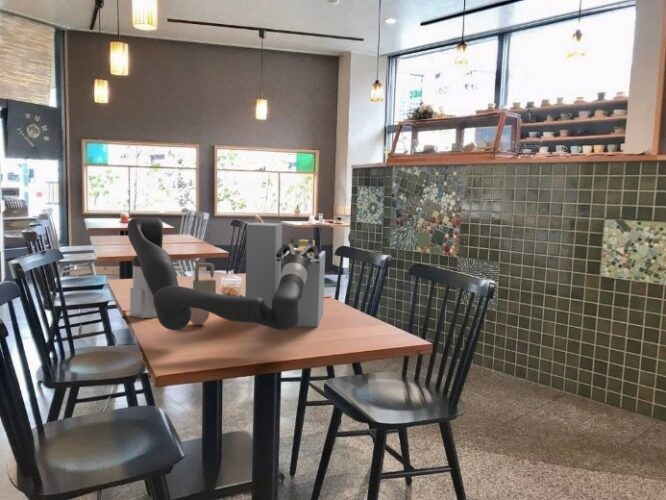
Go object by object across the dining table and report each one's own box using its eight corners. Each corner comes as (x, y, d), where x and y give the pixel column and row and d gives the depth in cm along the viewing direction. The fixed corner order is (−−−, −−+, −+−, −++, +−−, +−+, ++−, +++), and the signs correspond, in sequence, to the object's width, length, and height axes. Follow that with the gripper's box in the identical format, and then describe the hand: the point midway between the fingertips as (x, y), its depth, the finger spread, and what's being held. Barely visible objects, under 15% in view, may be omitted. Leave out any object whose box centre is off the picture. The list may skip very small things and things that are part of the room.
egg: (187, 328, 171) (188, 299, 170) (187, 322, 178) (187, 295, 177) (209, 327, 173) (209, 299, 172) (208, 322, 179) (208, 294, 178)
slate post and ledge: (317, 327, 178) (321, 229, 174) (239, 322, 180) (241, 226, 176) (323, 313, 197) (326, 225, 194) (252, 309, 199) (254, 222, 196)
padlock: (216, 301, 210) (216, 263, 208) (195, 303, 206) (195, 264, 204) (212, 299, 214) (213, 261, 212) (192, 301, 210) (192, 262, 208)
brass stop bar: (307, 261, 171) (307, 246, 171) (291, 261, 172) (292, 245, 171) (314, 254, 191) (314, 240, 190) (300, 253, 191) (300, 239, 191)
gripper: (317, 264, 159) (323, 231, 172) (269, 262, 160) (279, 229, 174) (318, 284, 163) (324, 250, 177) (271, 281, 164) (280, 248, 178)
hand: (302, 240), depth 175 cm, fingers open, 4 cm apart
